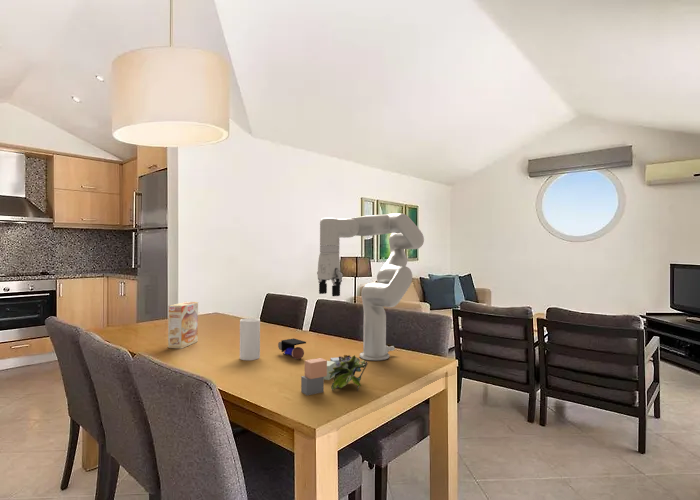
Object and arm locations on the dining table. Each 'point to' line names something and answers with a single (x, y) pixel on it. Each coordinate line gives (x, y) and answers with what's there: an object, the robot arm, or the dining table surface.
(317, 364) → the terracotta brick
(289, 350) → the figurine character
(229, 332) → the dining table surface
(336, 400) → the dining table surface
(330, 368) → the sage brick
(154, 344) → the dining table surface
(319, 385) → the charcoal brick
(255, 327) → the cup
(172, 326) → the coffeecake box
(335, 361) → the slate-blue brick
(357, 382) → the passion flower
